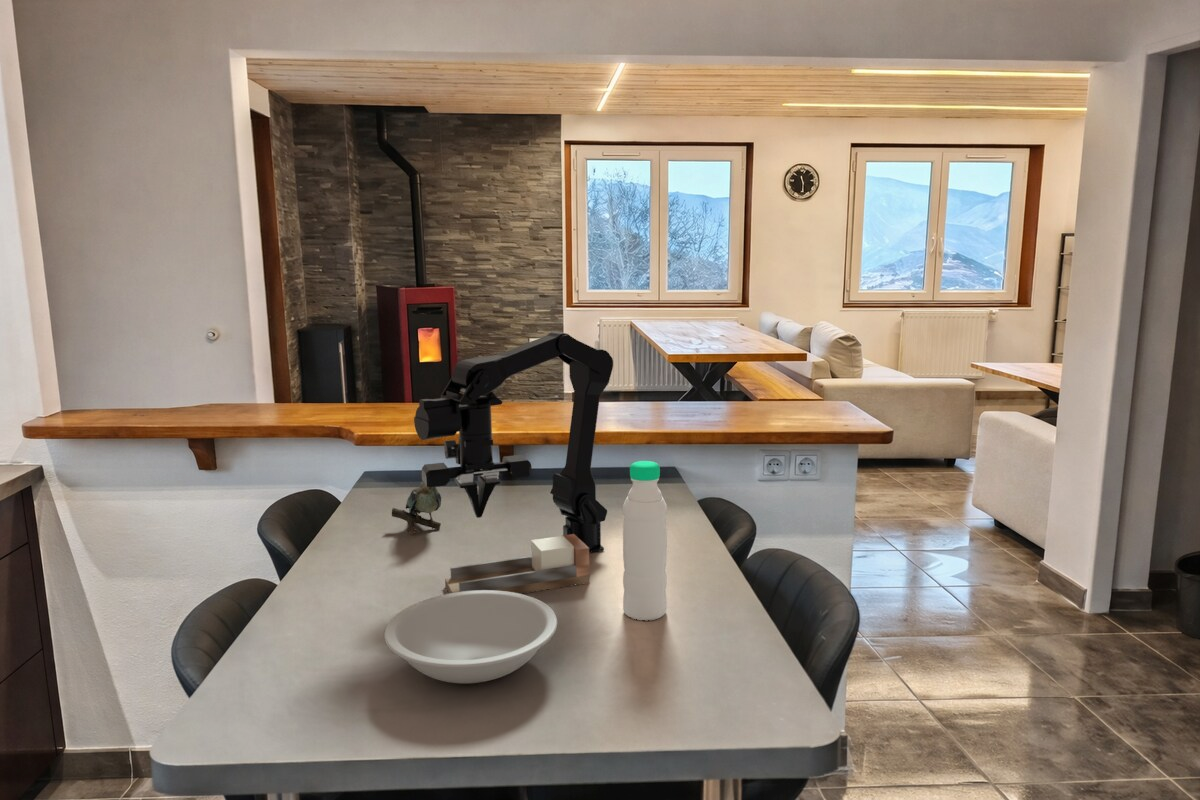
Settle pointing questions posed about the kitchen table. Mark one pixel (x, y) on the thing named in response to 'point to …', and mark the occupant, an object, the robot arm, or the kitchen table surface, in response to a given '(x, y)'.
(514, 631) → the soup bowl
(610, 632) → the kitchen table surface
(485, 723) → the kitchen table surface
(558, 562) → the block
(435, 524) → the bird figurine
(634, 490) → the water bottle
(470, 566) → the track
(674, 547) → the kitchen table surface
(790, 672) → the kitchen table surface
